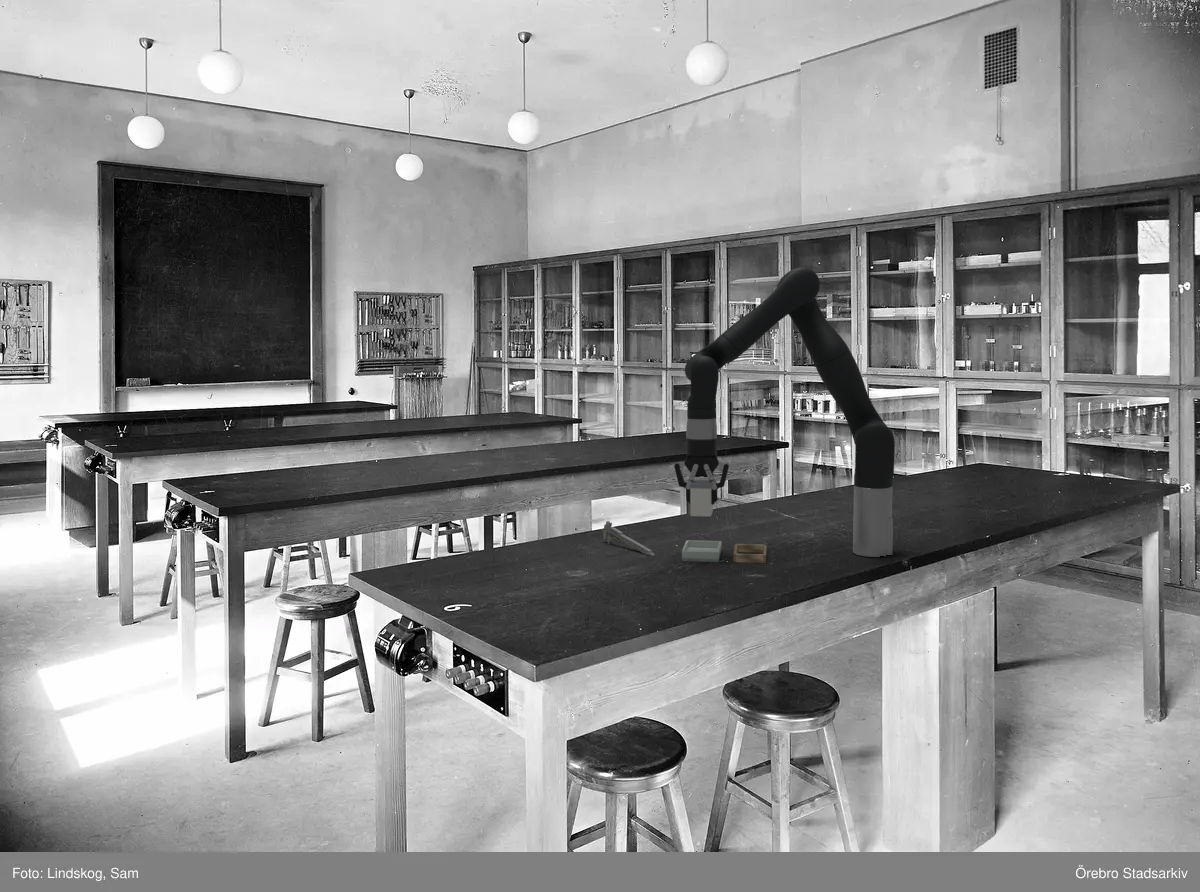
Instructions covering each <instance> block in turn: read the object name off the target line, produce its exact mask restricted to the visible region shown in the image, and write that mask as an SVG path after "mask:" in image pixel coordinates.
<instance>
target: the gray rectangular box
mask: <svg viewBox="0 0 1200 892" xmlns="http://www.w3.org/2000/svg"><path fill="white" fill-rule="evenodd" d="M689 506H690V511H689V512H690V516H689V517H712V514H713V512H714V504H712V483H710V482H709V479H708V478H694V481H693V482H691V483H690V504H689Z"/></svg>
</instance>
